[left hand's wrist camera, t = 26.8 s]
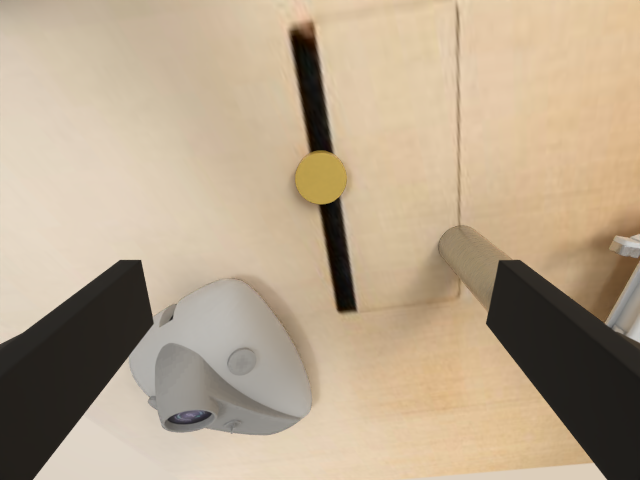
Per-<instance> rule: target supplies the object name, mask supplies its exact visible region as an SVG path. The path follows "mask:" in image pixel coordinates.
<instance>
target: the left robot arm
mask: <svg viewBox="0 0 640 480" xmlns="http://www.w3.org/2000/svg"><path fill="white" fill-rule="evenodd" d="M153 324H154V321H153V316H152V312H151V307H150V302H149V297H148V292H147V287H146V282H145V277H144V272H143V267H142V262H141V260H119V261H118V262H117V263H115V264H114V265H113V266H111V267H110V268H109V269H107V270H106V271H105V272H103V273H102V274H101V275H99V276H98V277H97V278H95V279H94V280H93V281H91V282H90V283H89V284H87V285H86V286H85V287H83V288H82V289H81V290H79V291H78V292H77V293H75V294H74V295H73V296H71V297H70V298H69V299H67V300H66V301H65V302H63V303H62V304H61V305H59V306H58V307H57V308H55V309H54V310H53V311H51V312H50V313H49V314H47V315H46V316H45V317H43V318H42V319H41V320H39V321H38V322H37V323H35V324H34V325H33V326H31V327H30V328H29V329H27V330H26V331H25V332H23V333H22V334H20V335H18V336H16V337H14V338H12V339H10V340H8V341H6V342H4V343H2V344H0V480H33V479H34V478H35V476H36V475H37V474H38V472H39V471H40V470H41V469H42V467H43V466H44V465H45V463H46V462H47V461H48V459H49V458H50V457H51V456H52V454H53V453H54V452H55V450H56V449H57V448H58V447H59V445H60V444H61V443H62V441H63V440H64V439H65V438H66V436H67V435H68V434H69V432H70V431H71V430H72V429H73V427H74V426H75V425H76V423H77V422H78V421H79V420H80V418H81V417H82V416H83V414H84V413H85V412H86V411H87V409H88V408H89V407H90V405H91V404H92V403H93V402H94V400H95V399H96V398H97V396H98V395H99V394H100V393H101V391H102V390H103V389H104V387H105V386H106V385H107V384H108V382H109V381H110V380H111V378H112V377H113V376H114V375H115V373H116V372H117V371H118V369H119V368H120V367H121V366H122V364H123V363H124V362H125V360H126V359H127V358H128V357H129V355H130V354H131V353H132V351H133V350H134V349H135V348H136V346H137V345H138V344H139V342H140V341H141V340H142V339H143V337H144V336H145V335H146V333H147V332H148V331H149V330H150V328H151V327H152V326H153ZM486 324H487V326H488V327H489V328H490V330H491V331H492V332H493V333H494V335H495V336H496V337H497V339H498V340H499V341H500V342H501V344H502V345H503V346H504V348H505V349H506V350H507V351H508V353H509V354H510V355H511V357H512V358H513V359H514V360H515V362H516V363H517V364H518V366H519V367H520V368H521V369H522V371H523V372H524V373H525V375H526V376H527V377H528V378H529V380H530V381H531V382H532V384H533V385H534V386H535V387H536V389H537V390H538V391H539V393H540V394H541V395H542V396H543V398H544V399H545V400H546V402H547V403H548V404H549V405H550V407H551V408H552V409H553V411H554V412H555V413H556V414H557V416H558V417H559V418H560V420H561V421H562V422H563V423H564V425H565V426H566V427H567V429H568V430H569V431H570V432H571V434H572V435H573V436H574V438H575V439H576V440H577V441H578V443H579V444H580V445H581V447H582V448H583V449H584V450H585V452H586V453H587V454H588V456H589V457H590V458H591V460H592V461H593V462H594V463H595V465H596V466H597V467H598V468H599V470H600V471H601V472H602V474H603V475H604V476H605V478H606V479H607V480H640V343H639V342H637V341H635V340H633V339H631V338H629V337H627V336H625V335H623V334H621V333H619V332H615V331H614V330H613V329H611V328H610V327H609V326H607V325H606V324H605V323H603V322H602V321H601V320H599V319H598V318H597V317H595V316H594V315H593V314H591V313H590V312H589V311H587V310H586V309H585V308H583V307H582V306H581V305H579V304H578V303H577V302H575V301H574V300H573V299H571V298H570V297H569V296H567V295H566V294H565V293H563V292H562V291H561V290H559V289H558V288H557V287H555V286H554V285H553V284H551V283H550V282H549V281H547V280H546V279H545V278H543V277H542V276H541V275H539V274H538V273H537V272H535V271H534V270H533V269H531V268H530V267H529V266H527V265H526V264H525V263H523V262H522V261H521V260H499V262H498V267H497V272H496V277H495V282H494V287H493V292H492V297H491V302H490V307H489V312H488V316H487V321H486Z"/></svg>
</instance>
